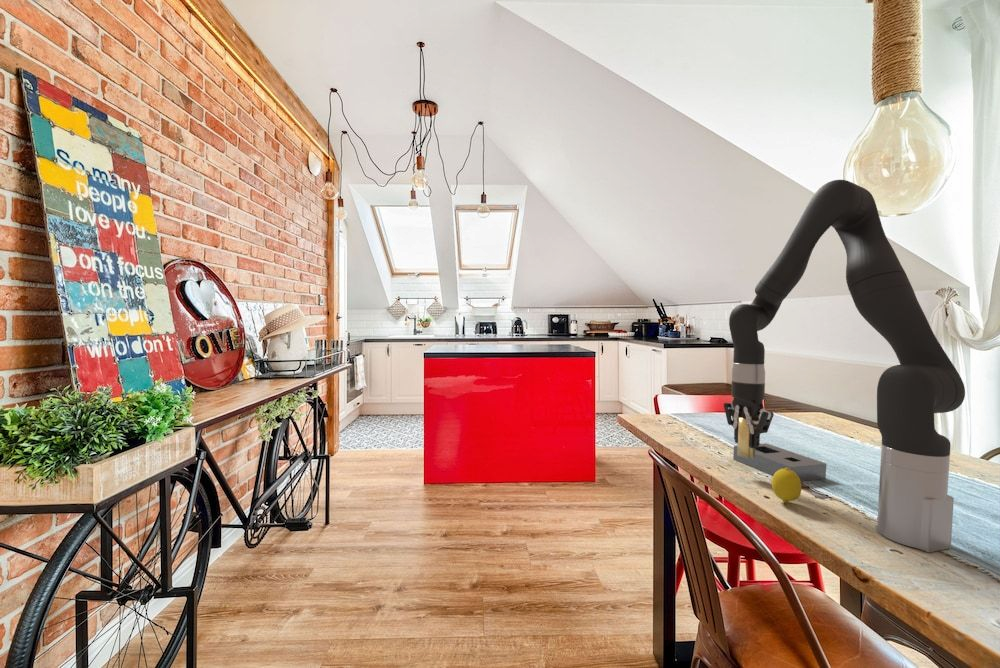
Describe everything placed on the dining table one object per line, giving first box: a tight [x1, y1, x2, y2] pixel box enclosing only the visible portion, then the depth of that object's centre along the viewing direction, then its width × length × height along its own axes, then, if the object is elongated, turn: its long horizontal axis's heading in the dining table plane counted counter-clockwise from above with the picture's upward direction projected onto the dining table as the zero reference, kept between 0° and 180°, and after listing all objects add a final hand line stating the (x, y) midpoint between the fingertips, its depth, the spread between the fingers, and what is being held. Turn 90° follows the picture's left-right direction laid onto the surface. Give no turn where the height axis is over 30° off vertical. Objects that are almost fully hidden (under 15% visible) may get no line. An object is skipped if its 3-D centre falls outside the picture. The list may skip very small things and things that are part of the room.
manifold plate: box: [732, 443, 827, 482], centre depth 117 cm, size 18×12×4 cm, turn 16°
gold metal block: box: [737, 417, 756, 458], centre depth 111 cm, size 4×4×10 cm
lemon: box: [771, 468, 802, 504], centre depth 95 cm, size 6×6×8 cm
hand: (746, 445), depth 111 cm, fingers closed on gold metal block, 4 cm apart
